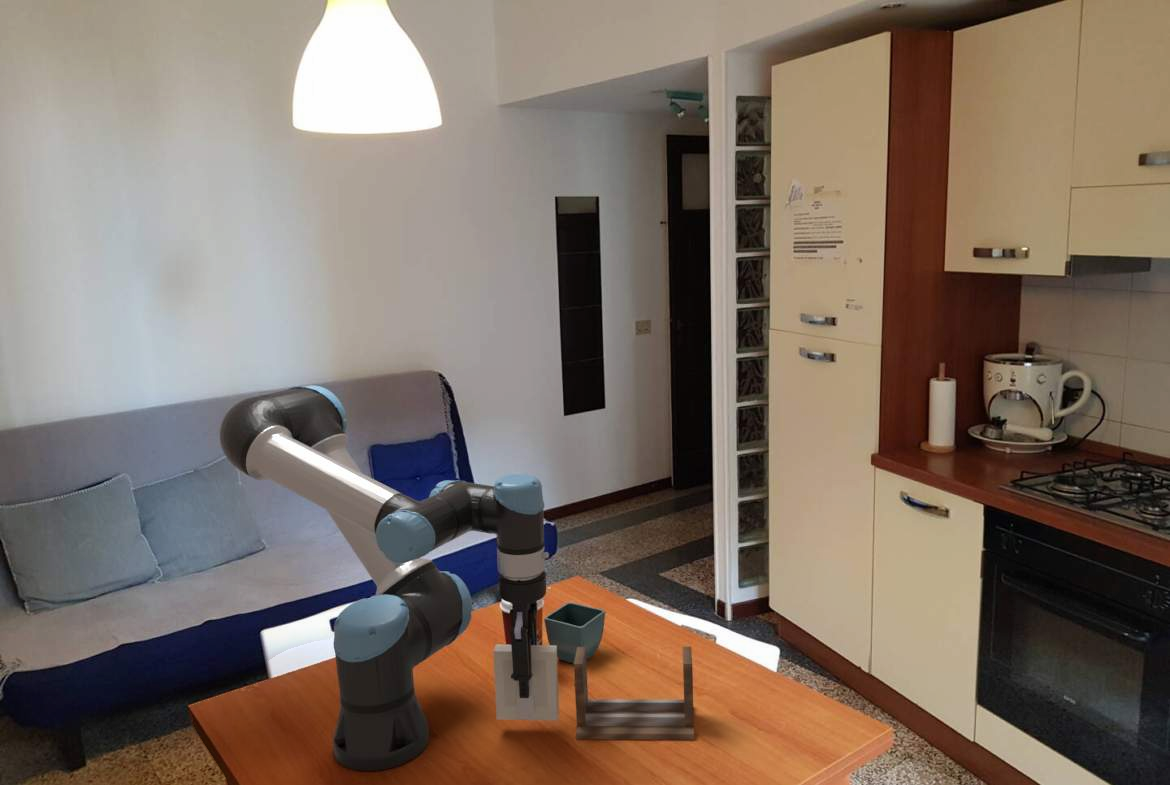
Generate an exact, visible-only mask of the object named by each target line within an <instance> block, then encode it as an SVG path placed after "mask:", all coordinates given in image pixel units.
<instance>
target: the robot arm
mask: <svg viewBox="0 0 1170 785" xmlns="http://www.w3.org/2000/svg"><path fill="white" fill-rule="evenodd" d="M345 416H347V414H346V411H345V408H344V406H343V404H342V402H341V401H340V399H339V398H338V397H337V396H336V395H335V394H334V393H333V392H332V391H331V390H329V389H327V388H326V387H322V386H320V385H312V384H310V385H305V386H304V385H296V386H294V387H290V388H288V389H285V390H280V391H275V392H272V393H267V394H262V395H257V396H251V397H247V398H245V399H242V400H241V401H238V402H237V403H236V404H235V405H233V406H232V407H231V408H230V409H229V410H228V411H227V413H226V414H225V415H224V417H223V419H222V422H221V424H220V428H219V441H220V443H219V444H220V447H221V449H222V452H223V454H224V455H225V457H226V459H227V460H228V461H229V462H230V463H231V464H232V465H233V466H234V467H235V468H236V469H237V470H239V471H240V472H242V473H244V474H245V475H246V476H249V477H250V478H253V479H254V480H257V481H267V480H270V481H272V482H274V483H276V484H278V485H279V486H281V487H283V488H285V489H287V490H288V491H291V492H292V493H295V494H296V495H298V496H300V497H301V498H304V499H306V500H307V501H310V502H311V503H314V504H315V505H317V506H319V507H321V508H322V509H324V510H326V511H327V513H328V514H329V516H330V518H331V519H332V521H333V522H334V524H335V525H336V527H337V528H338V530H339V531H340V533H341V535H342V536H343V537H344V538H345V541H346V542H347V543H348V545H349V546H350V548H351V549H352V551H353V553H355V556H356V558H358V560H359V561H360V563H361V564H362V565H363V568H364V569H365V570H366V572H367V573H368V575H369V577H370V578H371V579H372V581H373V582H374V584H375V585H376V592H375V595H372V596H370V597H369V598H366V597H364V598H361V599H358V600H357V601H355V602H352V603H350V604H349V605H348V606H346V607H345V608H343V610H342V611H341V612H340V613H339V614H338V615H337V617H336V619H335V621H334V626H333V635H334V638H333V650H334V653H335V662H336V664H335V665H336V670H337V672H336V674H337V681H338V689H339V691H338V692H339V699H340V701H339V702H340V709H339V713H338V718H337V721H336V725H335V730H334V733H333V736H332V737H333V740H332V743H333V746H332V747H333V754H334V758H335V759H336V762H338V763H339V764H340V765H342V766H343V767H345V768H348V769H351V770H354V771H361V772H362V771H363V772H374V771H383V770H387V769H392V768H395V767H398V766H400V765H401V766H402V765H404V764H405V763H408V762H410V761H411V760H413V759H415V758H417V757H418V756H419V755H420V754H422V753H423V751H424V750H425V749H426V747H427V746H428V743H429V740H430V732H429V731H430V730H429V724H428V720H427V717H426V715H425V713H424V711H423V709H422V707H421V704H420V702H419V700H418V698H417V696H416V693H415V685H414V684H415V683H414V672H413V671H414V669H415V667H416V666H418V665H420V664H421V663H422V662H424V661H426V660H427V659H429V657H432V656H433V655H434V654H436V653H438V652H439V651H440V650H442V649H443V648H444V647H447V646H449V645H451V644H452V643H453V642H455V641H456V640H457V639H458V638H459V636H461V635H462V634H463V633H465V631H466V630H467V628H468V627H469V625H470V622H471V620H472V611H473V603H472V602H473V601H472V596H471V594H470V590H469V589H468V587H467V585H466V583H465V582H464V581H463V579H461V577H459V576H458V575H457V574H455V573H451V572H450V571H445V570H444V571H442V570H441V571H440V570H439V569H438V567H437V566H436V564H435V563H434V561H433V560H432V559H427V558H423V557H425V556H427V555H428V554H429V553H430V552H432V551H434V550H436V549H439V547H441V546H443V545H445V544H447V543H449V542H451V541H453V540H456V539H458V538H459V537H461V536H463V535H465V534H467V533H468V532H480V533H483V534H484V533H486V534H489V535H490V534H491V535H492V534H494V535H495V536H496V544H497V545H496V555H497V572H498V573H499V575H498V594H499V597H500V598H501V600H502V599H503V600H505V601H507V602H510V603H511V604H512V609H510V621H511V627H510V629H509V633H510V638H511V647H512V662H513V673H512V675H511V679H514V681H516V691H517V714H534V712H535V709H534V683H533V675H532V671H531V645H537V616H536V613H537V601H538V600H540V599H543V598H544V597H545V596H546V594H547V573H546V572H545V570H546V563H545V562H546V559H549V558H550V553H549V552H548V551H545V528H544V527H545V525H544V523H545V521H544V518H545V517H544V514H545V513H544V512H545V511H544V508H545V502H544V496H543V485H542V482H541V480H540V479H539V478H538V477H536V476H534V475H531V474H527V473H526V474H524V473H522V474H513V473H512V474H507V475H504V476H501V477H499V478H497V479H496V480H495V482H494V486H493V485H488V484H482V483H475V482H468V481H465V480H460V479H459V480H450V479H448V480H442V481H440V482H438V483H437V484H436V485H435V487H434V488H433V489H432V490H431V491H430V494H429V496H428V497H427V498H425V499H422V500H420V501H419V500H417V499H414V498H412V497H410V496H407V495H405V494H403V493H401V491H400V492H399V491H398V490H396V489H395V488H392V487H390V486H387V485H386V484H384V483H383V482H380V481H378V480H376V479H374V478H372V477H370V476H368V475H366V474H364V473H363V472H362V471H361V470H360V468H359V466H358V465H357V463H356V462H355V460H354V459H353V458H352V457H351V455H350V453H349V452H348V450H347V443H348V439H349V436H348V435H347V434H346V430H347V424H348V422H347V419H345Z"/></svg>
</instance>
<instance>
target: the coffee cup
mask: <svg viewBox="0 0 1170 785" xmlns="http://www.w3.org/2000/svg"><path fill="white" fill-rule="evenodd" d="M544 606H545V600H544V599H543V598H542V599H540V600H538V601H537V613H536V616H537V645H543V607H544ZM499 609H500V610H501V615H502V622H503V631H504V639H505V645H511V638H510V633H509V629H510V627H511V621H510V609H512V604H511V603H510V602H507V601H505V600H503V599H502V598H501V602H500V603H499Z"/></svg>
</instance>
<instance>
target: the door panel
mask: <svg viewBox="0 0 1170 785" xmlns="http://www.w3.org/2000/svg"><path fill="white" fill-rule="evenodd" d="M493 670H494V671H493V673H494V692H495V693H494V694H495V710H496V711H495V714H496V720H507V721H508V720H509V721H510V720H511V721H546V722H547V721H549V722H557V721H558V720H559V716H560V715H559V714H560V708H559V707H560V703H559V701H560V700H559V697H560V696H559V674H558V672H559V671H558V657H557V645H550V644H547V645H546V644H542V645H531V671H532V675H533V683H534V709H535V712H534V714H517V691H516V681H514V679H511V675H512V673H513V662H512V647H511V645H506V644H501V643H500V644H499V643H498V644H497V643H496V644H495V647H494V648H493Z"/></svg>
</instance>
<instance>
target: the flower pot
mask: <svg viewBox="0 0 1170 785" xmlns="http://www.w3.org/2000/svg"><path fill="white" fill-rule="evenodd" d="M605 618H606V610H605V609H601V608H596V607H593V606H588V605H584V604H580V603H576V602H571V601H570V602H569V601H568V602H566V603H564V604H563V605H561V606H560V607H558V608H557V609H556V610H554V611H552V612H551V613H549V614H548V615H546V616H545V617H544V618H543V620H544V626H545V633H546V637H547V641H548V645H557V659H559V660H561V661H564V662H568V663H572V664H574V661H575V656H576V651H577V647H586V661H587V660H589V659H590V658H591V657H594V655H595V653H596V652H597V651H598V648H599V646H600V644H601V641H602V638H603V635H604V629H605Z"/></svg>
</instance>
